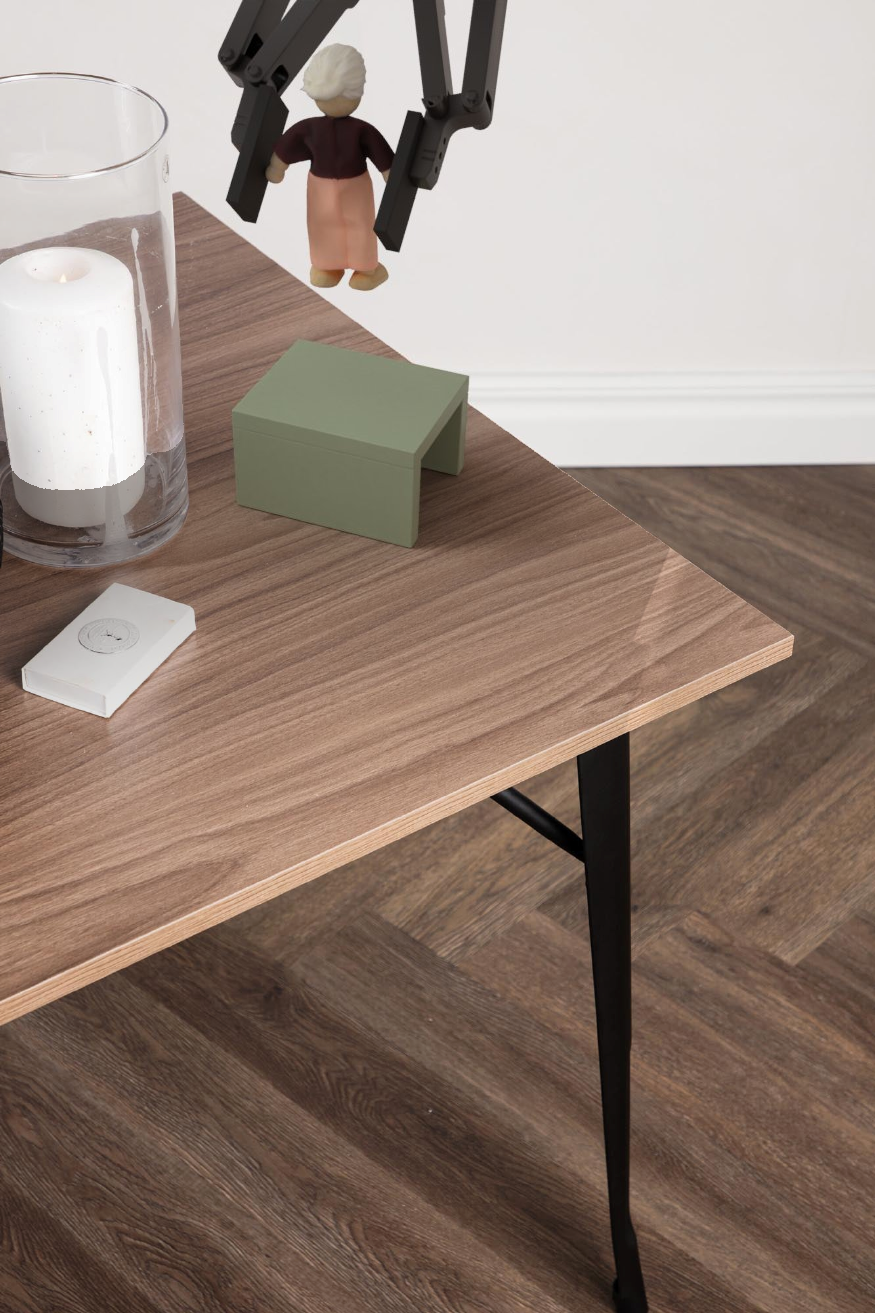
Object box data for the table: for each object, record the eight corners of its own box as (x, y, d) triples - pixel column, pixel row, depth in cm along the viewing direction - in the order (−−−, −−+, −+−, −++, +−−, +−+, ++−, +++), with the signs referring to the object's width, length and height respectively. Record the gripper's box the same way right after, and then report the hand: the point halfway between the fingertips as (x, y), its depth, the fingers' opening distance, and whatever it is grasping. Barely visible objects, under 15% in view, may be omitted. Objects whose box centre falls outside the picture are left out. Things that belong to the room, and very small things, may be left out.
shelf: (236, 504, 91) (231, 409, 86) (300, 429, 98) (298, 337, 94) (411, 548, 88) (414, 453, 84) (463, 467, 95) (469, 375, 91)
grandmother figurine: (405, 263, 82) (409, 34, 73) (406, 294, 79) (411, 59, 71) (271, 261, 81) (260, 31, 73) (267, 292, 79) (255, 56, 70)
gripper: (623, -109, 77) (509, 289, 76) (279, -154, 82) (168, 220, 81) (609, -206, 70) (482, 234, 69) (233, -248, 75) (109, 161, 74)
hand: (312, 226), depth 75 cm, fingers closed on grandmother figurine, 8 cm apart
